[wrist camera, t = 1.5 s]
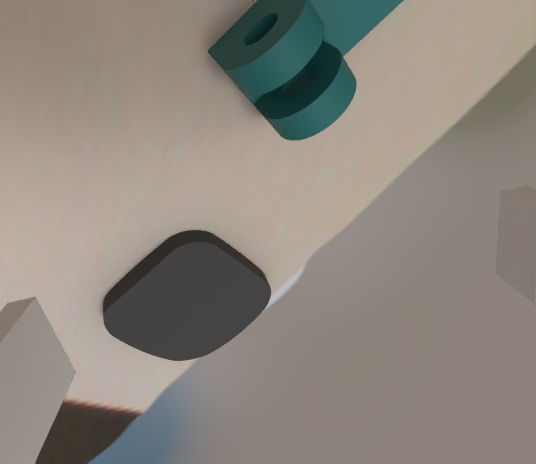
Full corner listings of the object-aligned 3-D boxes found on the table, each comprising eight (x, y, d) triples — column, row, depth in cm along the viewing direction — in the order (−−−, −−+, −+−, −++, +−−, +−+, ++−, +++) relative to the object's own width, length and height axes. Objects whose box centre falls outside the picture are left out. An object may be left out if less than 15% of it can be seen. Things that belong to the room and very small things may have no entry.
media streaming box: (190, 213, 37) (197, 232, 35) (277, 279, 46) (286, 298, 44) (85, 308, 39) (85, 331, 37) (188, 352, 49) (192, 373, 46)
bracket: (261, 114, 33) (297, 154, 27) (207, 50, 29) (235, 82, 23) (436, -51, 30) (519, -45, 24) (404, -150, 26) (496, -172, 20)
